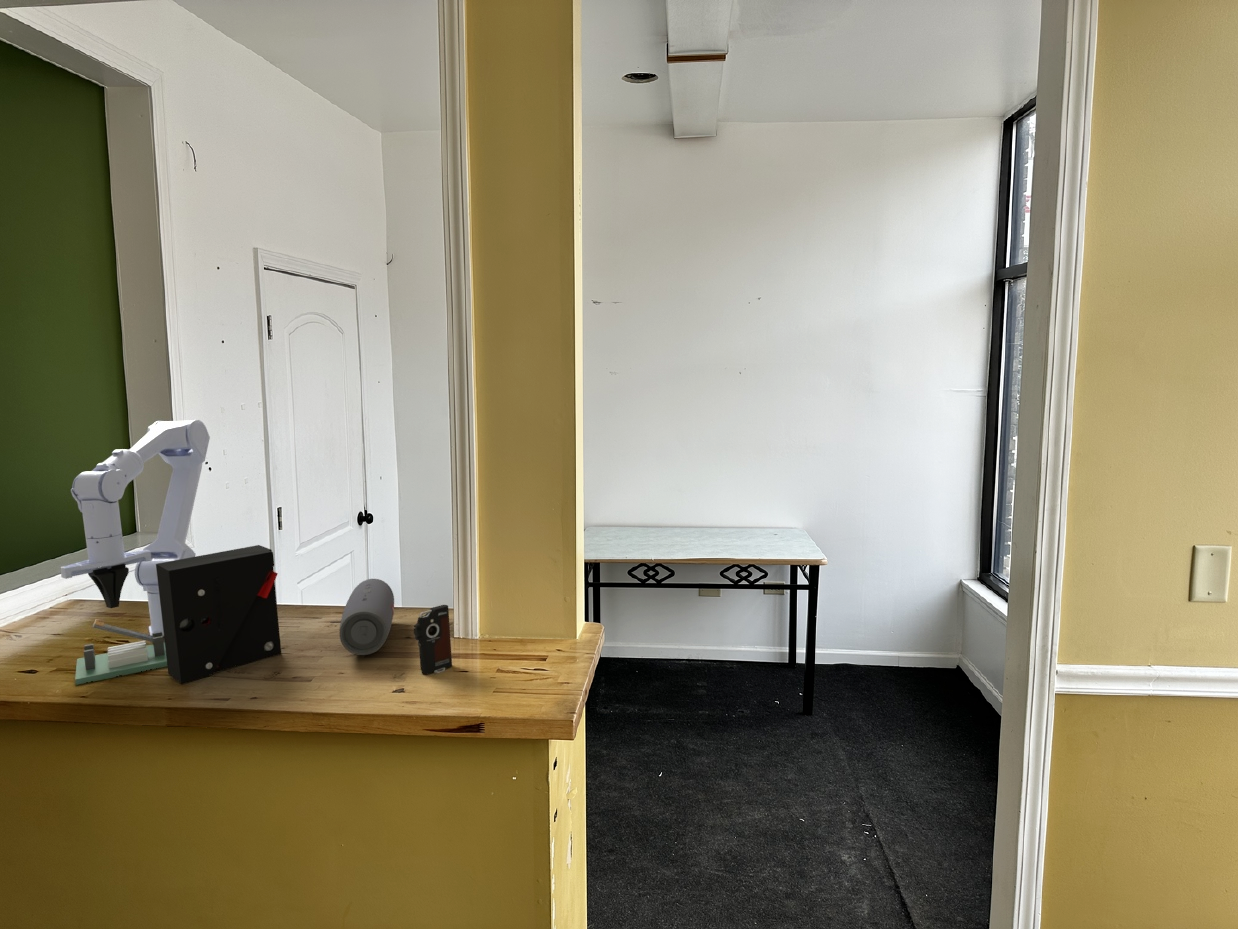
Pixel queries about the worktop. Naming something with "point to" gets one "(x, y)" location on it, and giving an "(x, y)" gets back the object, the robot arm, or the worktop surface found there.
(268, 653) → the electrical component
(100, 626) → the bar
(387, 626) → the bluetooth speaker
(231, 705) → the worktop surface
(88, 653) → the heatsink base
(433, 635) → the camera
